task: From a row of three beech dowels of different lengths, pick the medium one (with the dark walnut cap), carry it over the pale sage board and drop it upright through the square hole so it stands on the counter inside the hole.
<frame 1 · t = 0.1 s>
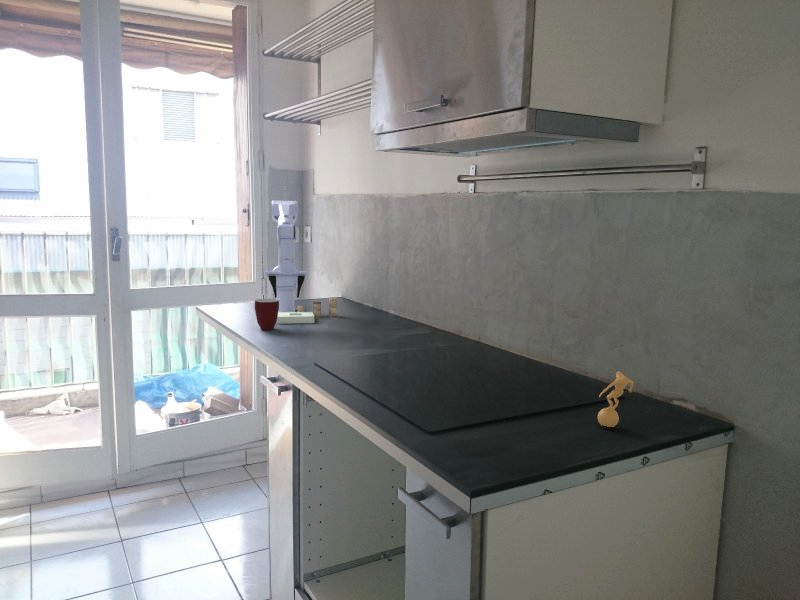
hand: (286, 297, 214), 10 cm above the countertop, fingers open, 7 cm apart
dowel short: (301, 316, 233), on the countertop
figurine: (611, 430, 120), on the countertop
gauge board: (295, 321, 224), on the countertop
mug: (266, 329, 209), on the countertop
dowel long: (332, 315, 236), on the countertop
dowel medium: (317, 316, 234), on the countertop
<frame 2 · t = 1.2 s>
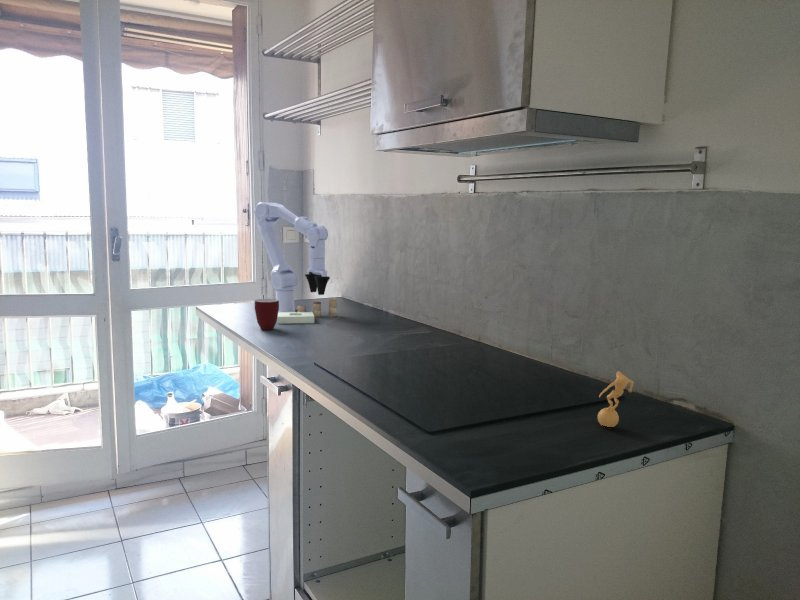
hand: (317, 293, 233), 9 cm above the countertop, fingers open, 7 cm apart
nothing on the countertop moved.
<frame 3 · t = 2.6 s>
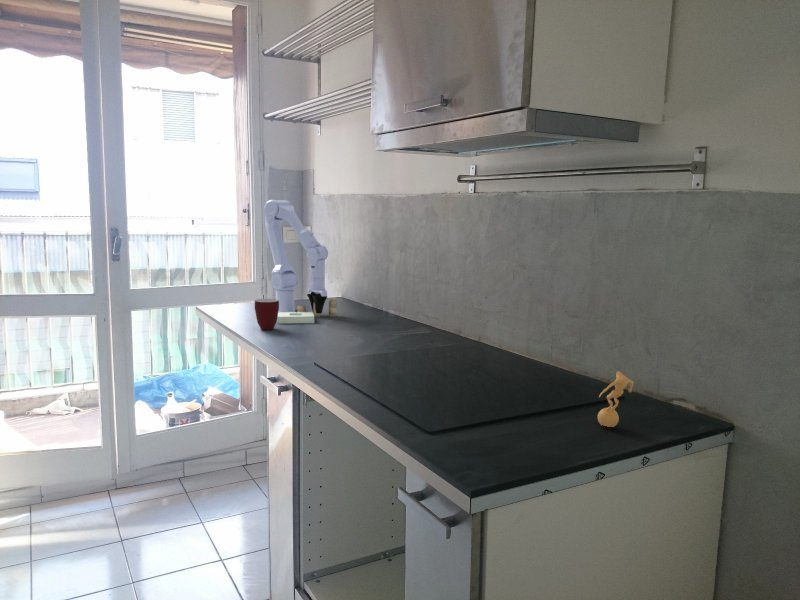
hand: (317, 312, 234), 1 cm above the countertop, fingers closed on dowel medium, 3 cm apart
dowel medium: (317, 316, 234), on the countertop, touching gripper
everything else where it was.
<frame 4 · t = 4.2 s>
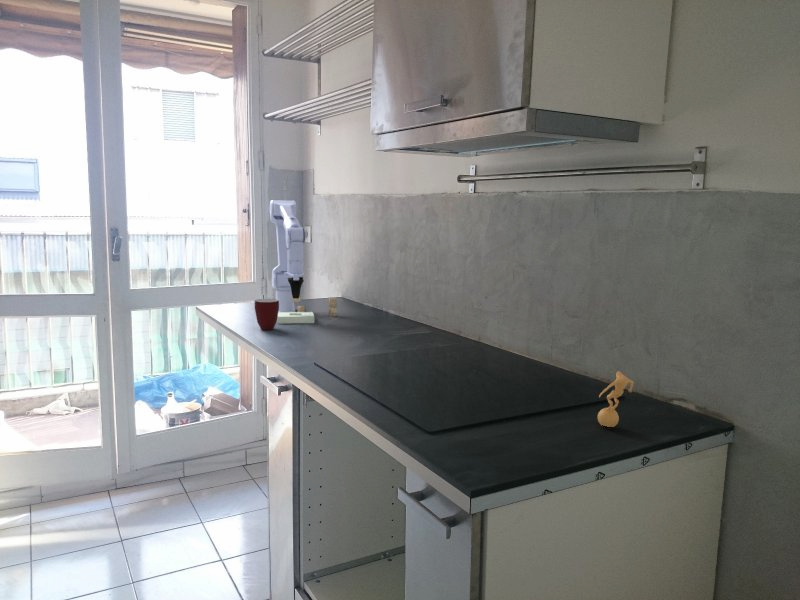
hand: (295, 297, 222), 9 cm above the countertop, fingers closed on dowel medium, 3 cm apart
dowel medium: (296, 301, 223), point 7 cm above the countertop, touching gripper
everything else where it was.
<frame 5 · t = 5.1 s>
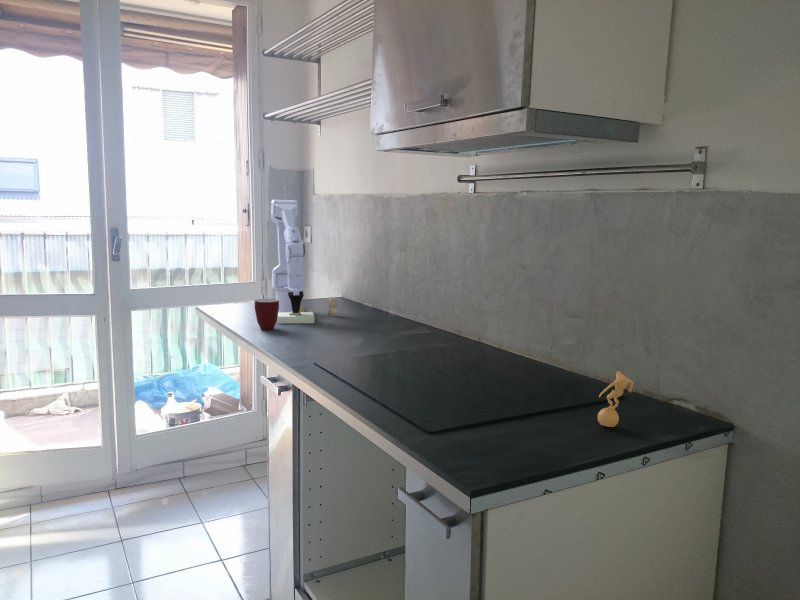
hand: (295, 312, 223), 3 cm above the countertop, fingers closed on dowel medium, 3 cm apart
dowel medium: (296, 316, 223), point 2 cm above the countertop, touching gripper
everything else where it was.
when the fingers open (3 cm above the countertop, at t = 5.8 s): dowel medium drops 2 cm, resting in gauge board.
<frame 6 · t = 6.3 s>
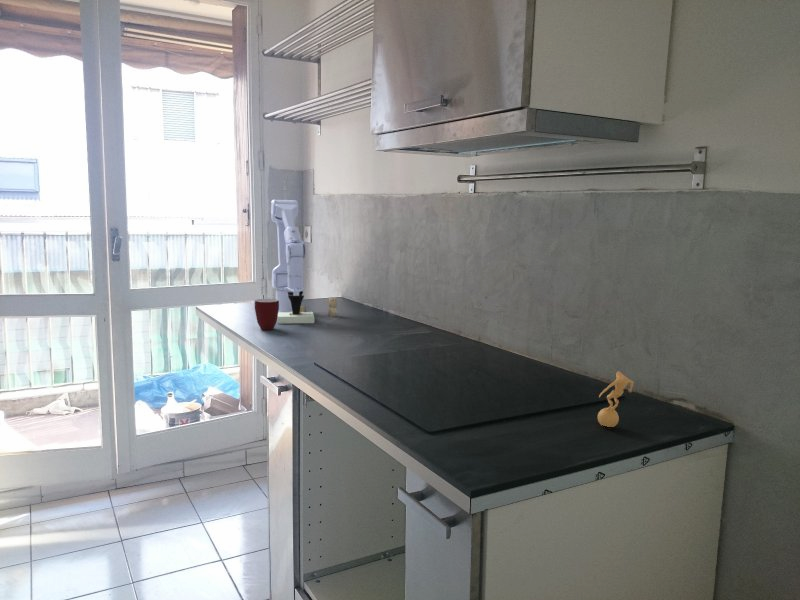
hand: (295, 312, 223), 3 cm above the countertop, fingers open, 7 cm apart
dowel medium: (296, 321, 224), resting in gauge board
everything else where it was.
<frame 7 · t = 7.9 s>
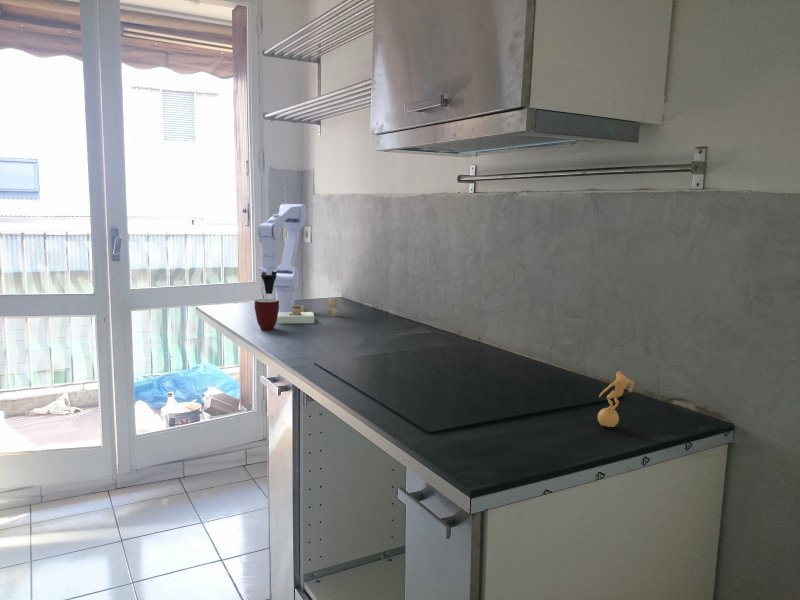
hand: (269, 292, 226), 10 cm above the countertop, fingers open, 7 cm apart
nothing on the countertop moved.
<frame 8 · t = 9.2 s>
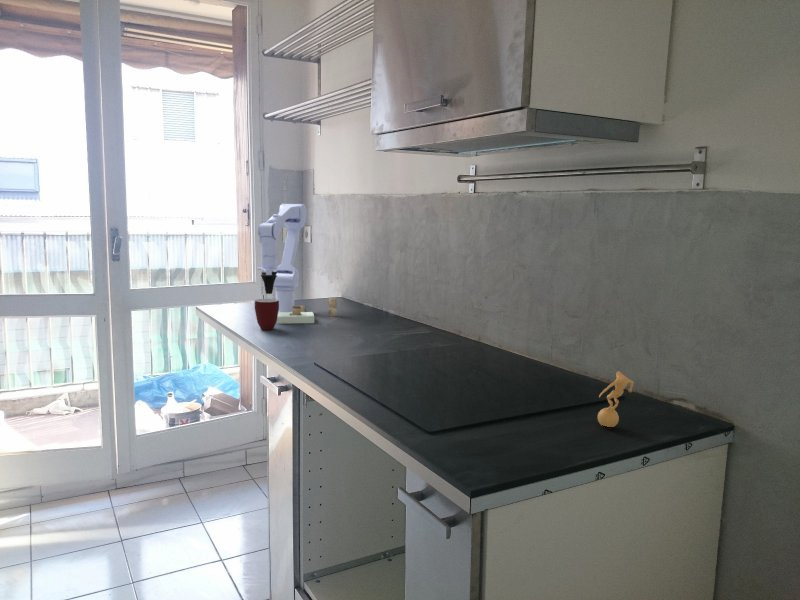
hand: (269, 292, 226), 10 cm above the countertop, fingers open, 7 cm apart
nothing on the countertop moved.
at the end: dowel medium 0.3 cm off-centre on the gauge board, point 0.0 cm above the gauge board's base; dowel medium tilted 0°; the gripper is holding nothing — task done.
